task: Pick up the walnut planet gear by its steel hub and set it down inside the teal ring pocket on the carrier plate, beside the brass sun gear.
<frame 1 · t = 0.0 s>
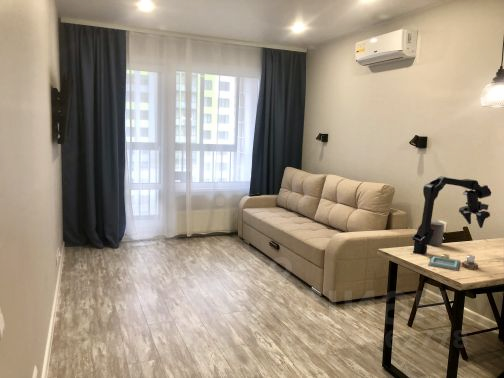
hand: (475, 226, 240), 15 cm above the table, tool pointing down, fingers open, 9 cm apart
planet gear: (469, 267, 213), on the table
carrier plate: (444, 263, 217), on the table
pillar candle: (433, 244, 255), on the table
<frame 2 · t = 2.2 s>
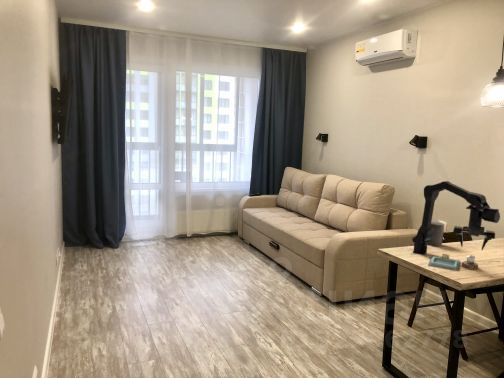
hand: (471, 248, 212), 10 cm above the table, tool pointing down, fingers open, 9 cm apart
nothing on the table moved.
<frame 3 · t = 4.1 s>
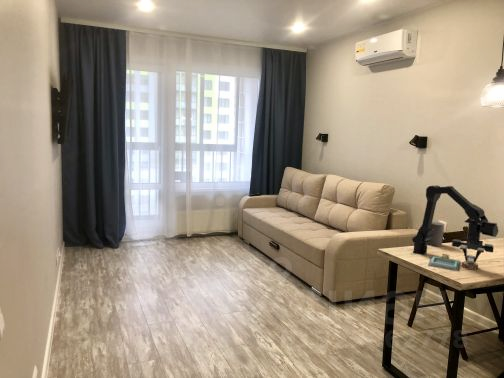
hand: (470, 261, 212), 3 cm above the table, tool pointing down, fingers closed on planet gear, 4 cm apart
planet gear: (469, 267, 213), on the table, touching gripper
everything else where it was.
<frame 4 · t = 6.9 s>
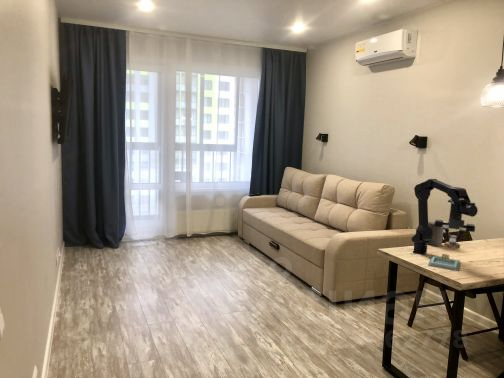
hand: (452, 241, 213), 13 cm above the table, tool pointing down, fingers closed on planet gear, 4 cm apart
planet gear: (451, 247, 214), point 10 cm above the table, touching gripper
everything else where it was.
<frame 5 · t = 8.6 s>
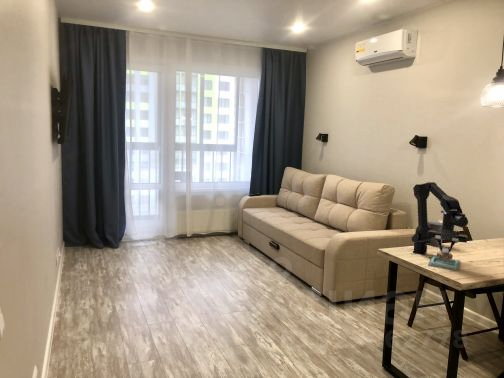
hand: (445, 252, 215), 7 cm above the table, tool pointing down, fingers closed on planet gear, 4 cm apart
planet gear: (444, 257, 215), point 4 cm above the table, touching gripper
everything else where it was.
when the fingers open (4 cm above the table, at t = 10.0 s): planet gear stays where it is, resting on carrier plate.
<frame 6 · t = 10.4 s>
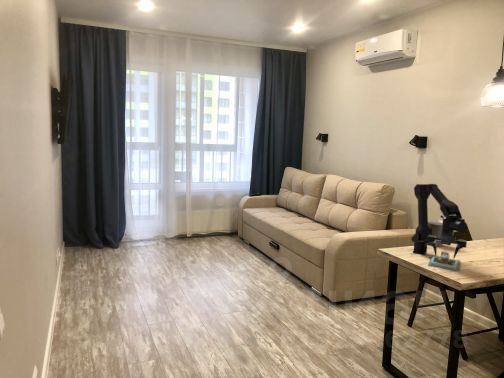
hand: (444, 256, 215), 4 cm above the table, tool pointing down, fingers open, 8 cm apart
planet gear: (444, 263, 216), point 1 cm above the table, touching carrier plate
everything else where it was.
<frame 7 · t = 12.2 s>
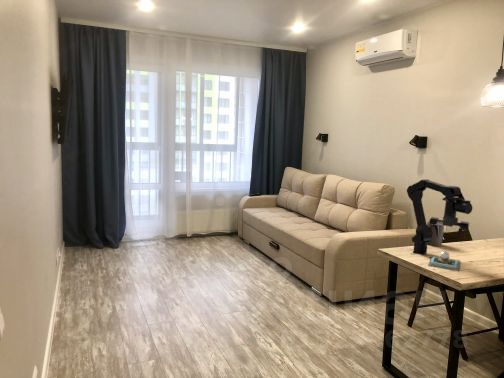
hand: (447, 238, 219), 13 cm above the table, tool pointing down, fingers open, 9 cm apart
nothing on the table moved.
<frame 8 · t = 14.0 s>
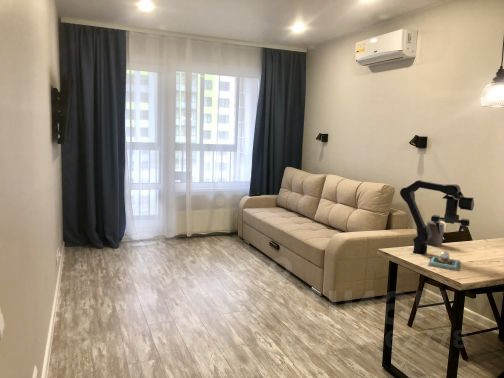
hand: (448, 235, 225), 13 cm above the table, tool pointing down, fingers open, 9 cm apart
nothing on the table moved.
at the end: planet gear 0.0 cm from the target spot on the carrier plate, point 0.6 cm above the carrier plate's base; planet gear tilted 0°; the gripper is holding nothing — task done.
